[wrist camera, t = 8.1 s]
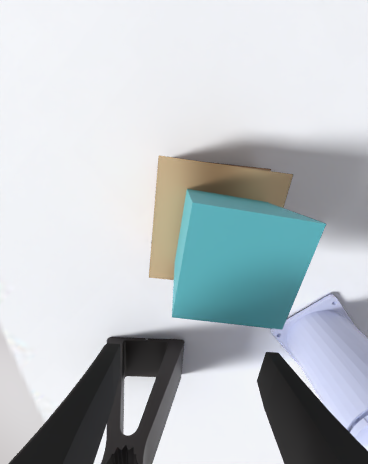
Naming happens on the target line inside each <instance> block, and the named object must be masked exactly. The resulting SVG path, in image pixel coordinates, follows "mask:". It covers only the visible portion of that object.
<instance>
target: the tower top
mask: <svg viewBox="0 0 368 464" xmlns="http://www.w3.org/2000/svg"><path fill="white" fill-rule="evenodd" d="M292 177H293V174H286V173H279V172H272V171H265V170H257V169H250V168H243V167H236V166H229V165H222V164H215V163H208V162H201V161H194V160H187V159H179V158H172V157H165V156H159V158H158V171H157V183H156V195H155V208H154V220H153V232H152V244H151V257H150V269H149V277H150V278H160V279H170V280H174V265H175V257H176V251H177V245H178V239H179V233H180V227H181V221H182V215H183V209H184V203H185V197H186V191H187V189H192V190H198V191H204V192H210V193H216V194H222V195H228V196H234V197H240V198H246V199H252V200H258V201H264V202H268V203H271V204H273V205H276V206H279V207H282V208H283V207H284V203H285V200H286V197H287V194H288V190H289V187H290V184H291V180H292Z"/></svg>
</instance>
